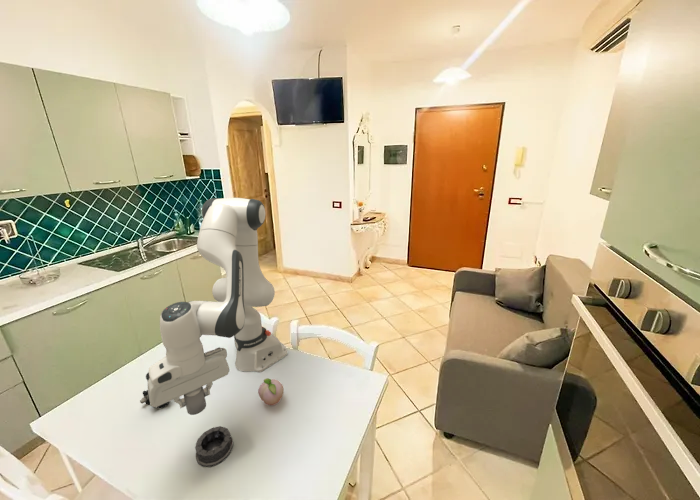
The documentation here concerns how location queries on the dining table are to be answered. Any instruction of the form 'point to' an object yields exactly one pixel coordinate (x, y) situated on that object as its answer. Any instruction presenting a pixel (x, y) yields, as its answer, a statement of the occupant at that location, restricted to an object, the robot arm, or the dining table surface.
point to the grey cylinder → (195, 401)
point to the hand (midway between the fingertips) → (195, 400)
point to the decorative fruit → (271, 391)
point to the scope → (146, 396)
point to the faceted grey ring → (213, 446)
